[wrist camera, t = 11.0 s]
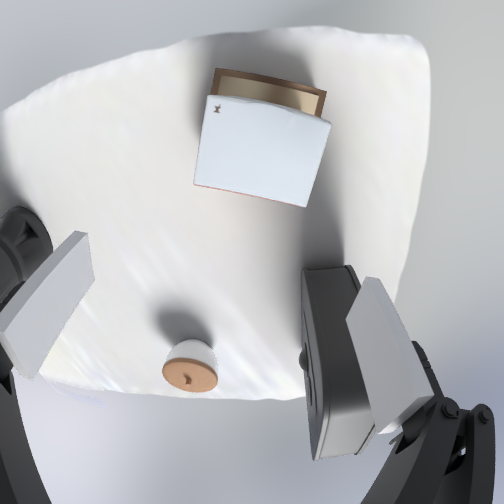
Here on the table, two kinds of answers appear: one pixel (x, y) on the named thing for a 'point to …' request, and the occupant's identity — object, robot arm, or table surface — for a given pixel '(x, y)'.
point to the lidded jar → (191, 366)
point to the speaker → (333, 365)
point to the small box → (260, 149)
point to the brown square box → (268, 90)
